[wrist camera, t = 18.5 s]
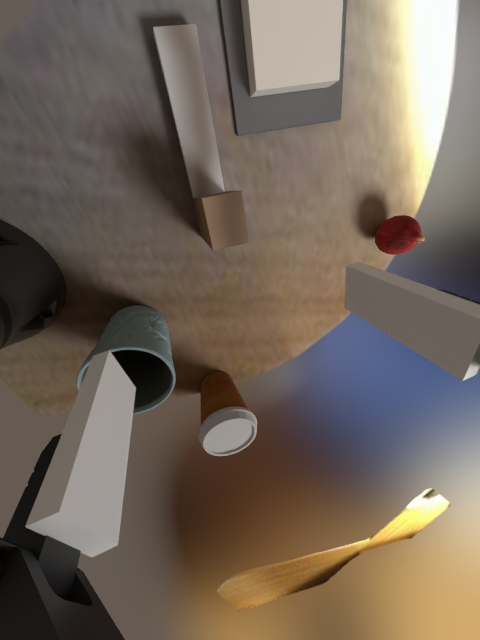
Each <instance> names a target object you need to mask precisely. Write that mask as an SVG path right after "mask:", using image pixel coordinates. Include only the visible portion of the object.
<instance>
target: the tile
mask: <svg viewBox="0 0 480 640" xmlns="http://www.w3.org/2000/svg"><path fill="white" fill-rule="evenodd" d="M241 8H242V18H243V28H244V38H245V48H246V58H247V67H248V77H249V87H250V97H256V96H264V95H272V94H279V93H287V92H295V91H303V90H310V89H318V88H326V87H330V86H331V85H333V84H334V83H336V82H337V81H339V77H340V55H341V34H342V12H343V0H241Z"/></svg>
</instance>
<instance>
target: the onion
mask: <svg viewBox="0 0 480 640" xmlns="http://www.w3.org/2000/svg"><path fill="white" fill-rule="evenodd" d="M424 240H425V238H424V236H422V235H421V228H420V225H419V223H418V222H417V221H416V220H415V219H413V218H412V217H410V216H405V215H404V216H394V217H392V218H390V219H388V220H386V221H385V222H383V223H382V224H381V225H380V226H379V228H378V229H377V231H376V234H375V243H376V245H377V246H378V248H379V250H381V251H383V252H385V253H387V254H402V253H405V252H407V251H409V250H411V249H412V248H413V247H415V246H416V245H417V244H418V243H419V242H420V243H422V242H424Z"/></svg>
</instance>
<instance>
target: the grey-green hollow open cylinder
mask: <svg viewBox="0 0 480 640" xmlns="http://www.w3.org/2000/svg"><path fill="white" fill-rule="evenodd" d="M108 350H110V352H111V353H112V355H113V356H114V357H115V359H116V360H117V362H118V363H119V365H120V366H121V367H122V369H123V370H124V372H125V373H126V374H127V376H128V377H129V379H130V380H131V382H132V383H133V384H134V386H135V387H136V392H135V401H134V409H133V414H137V413H142V412H145V411H147V410H150V409H152V408H154V407H156V406H157V405H159V404H160V403H162V402H163V401H164V400H166V398H167V397H168V396H169V395H170V394H171V392H172V390H173V388H174V385H175V381H176V378H175V370H174V365H173V360H172V353H171V345H170V339H169V332H168V326H167V323H166V321H165V319H164V318H163V316H162V315H161V314H160V313H159V312H157V311H156V310H154V309H152V308H150V307H147V306H142V305H134V306H128V307H125V308H123V309H121V310H119V311H118V312H116V313H115V314H114V315H113V316H112V318H111V319H110V321H109V322H108V324H107V326H106V328H105V330H104V333H103V334H102V335H101V337H100V340H99V342H98V344H97V345H96V346H95V348H94V349H93V350H92V351H91V353H90V354H89V356H88V357H87V359H86V360H85V362H84V364H83V365H82V367H81V368H80V370H79V373H78V375H77V381H76V384H77V390H78V392H79V390H80V388H81V385H82V382H83V380H84V377H85V375H86V372H87V370H88V367H89V365H90V362H91V360H92V357H93V356H94V355H97V354H100V353H103V352H106V351H108Z"/></svg>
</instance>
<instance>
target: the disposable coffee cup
mask: <svg viewBox="0 0 480 640" xmlns="http://www.w3.org/2000/svg"><path fill="white" fill-rule="evenodd" d="M200 388H201V429H200V432H199V440H200V443H201V444H202V445H203V447H204V449H205V451H207V452H208V453H209V454H211V455H215V456H226V455H231V454H234V453H237V452H239V451H241V450H242V449H244V448H246V447H247V446H248V445H249V444H250V443H251V442H252V441H253V439H254V438H255V436H256V433H257V428H256V427H257V420H256V417H255V416H254V414H253V413H251V412H250V411H249V410H248V408H247V406H246V404H245V402H244V400H243V398H242V397H241V395H240V393H239V391H238V390H237V388H236V386H235V384H234V382H233V381H232V379H231V377H230V376H229V375H228V374H227V373H224V372H214V373H211V374H209V375H207V376H206V377H205V378H204V379H203V380H202V382H201V387H200Z"/></svg>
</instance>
